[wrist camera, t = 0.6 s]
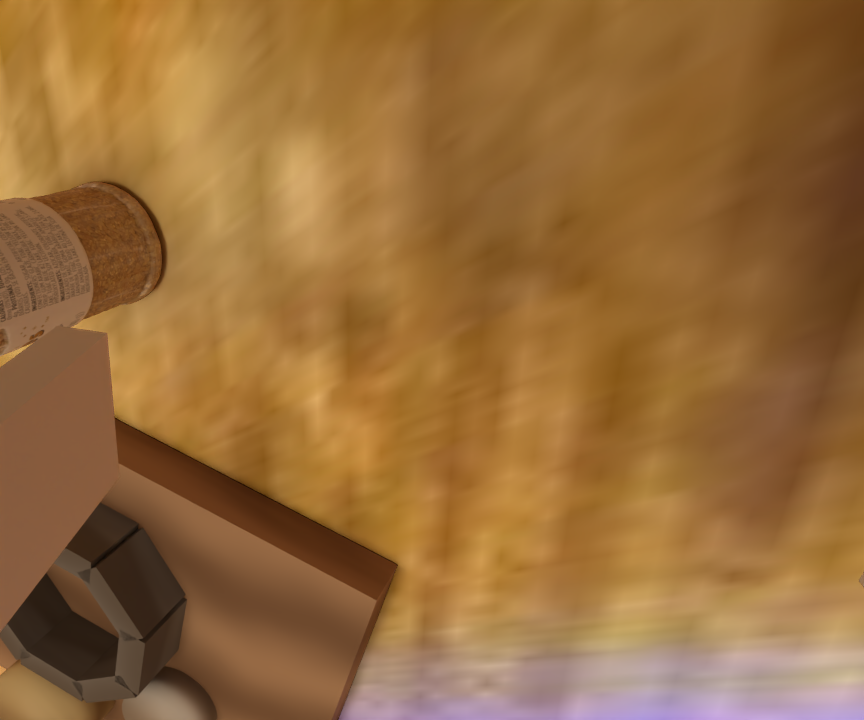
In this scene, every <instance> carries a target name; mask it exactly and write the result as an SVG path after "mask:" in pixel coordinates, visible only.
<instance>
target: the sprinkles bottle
mask: <svg viewBox="0 0 864 720" xmlns="http://www.w3.org/2000/svg"><path fill="white" fill-rule="evenodd" d="M161 267H162V255H161V244H160V241H159V238H158V236H157V233H156V232H155V229H154V226H153V224H152V222H151V220H150V218H149V216H148V214H147V213H146V211H145V210H144V209H143V207H142V206H141V205H140V204H139V202H138V201H137V200H136V199H135V198H133V197H132V196H131V195H129V194H128V193H127V192H125V191H123V190H121V189H119V188H117V187H116V186H114V185H111V184H107V183H103V182H90V183H86V184H82V185H80V186H77V187H75V188H72V189H71V190H67V191H62V192H58V193H53V194H50V195H45V196H40V197H33V198H29V199H28V198H12V199H6V200H1V201H0V356H2V355H4V354H7V353H9V352H12V351H14V350H16V349H19V348H21V347H24V346H26V345H29V344H31V343H34V342H36V341H37V340H39V339H40V338H41V337H43V336H44V335H45V334H47V333H48V332H50V331H51V330H52V329H54V328H55V327H56V326H62V327H69V328H70V327H72V326H74V325H76V324H77V323H79V322H80V321H81V320H83V319H86V318H89V317H91V316H93V315H96V314H99V313H101V312H103V311H107V310H109V309H111V308H113V307H116V306H119V305H124V304H131V303H134V302H137V301H139V300H141V299H142V298H144V297H145V296H147V295H148V294H149V293H150V292H151V291H152V290H153V289H154V287H155V285H156V283H157V281H158V279H159V276H160V273H161Z"/></svg>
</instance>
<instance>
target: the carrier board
mask: <svg viewBox="0 0 864 720" xmlns="http://www.w3.org/2000/svg"><path fill="white" fill-rule="evenodd" d="M115 430H116V442H117V453H118V465H119V476H120V477H119V478H118V480H117V481H116V482H115V484H114V485H113V486H112V487H111V489H110V490H109V491H108V493H107V494H106V495H105V497H104V498H103V499H102V501H101V502H100V503H99V504H98V506H97V507H96V508H95V510H94V511H93V512H92V514H91V515H90V516H89V517H88V519H87V520H86V521H85V523H84V524H83V525H82V527H81V528H80V529H79V530H78V532H77V533H76V534H75V536H74V537H73V538H72V540H71V541H70V542H69V543H68V545H67V546H66V547H65V549H64V550H63V551H62V553H61V554H60V555H59V556H58V558H57V559H56V560H55V562H54V563H53V564H52V566H51V567H50V568H49V570H48V571H47V572H46V573H45V575H44V576H43V577H42V579H41V580H40V581H39V583H38V584H37V585H36V586H35V588H34V589H33V590H32V592H31V593H30V594H29V596H28V597H27V598H26V599H25V601H24V602H23V603H22V605H21V606H20V607H19V609H18V610H17V611H16V612H15V614H14V615H13V616H12V618H11V619H10V620H9V622H8V623H7V624H6V626H5V627H4V628H3V629H2V631H1V632H0V666H2V667H4V668H5V669H7V670H6V671H5V672H4V673H2V674H1V675H0V720H338V719H339V716H340V714H341V711H342V708H343V706H344V703H345V701H346V698H347V695H348V693H349V690H350V688H351V685H352V682H353V680H354V677H355V675H356V672H357V669H358V667H359V664H360V662H361V659H362V656H363V654H364V651H365V649H366V646H367V643H368V641H369V638H370V636H371V633H372V630H373V628H374V625H375V623H376V620H377V617H378V615H379V612H380V610H381V607H382V604H383V602H384V599H385V597H386V594H387V591H388V589H389V586H390V584H391V581H392V578H393V576H394V573H395V571H396V568H397V566H398V565H396V564H394V563H392V562H391V561H389V560H387V559H385V558H383V557H381V556H379V555H377V554H375V553H373V552H371V551H369V550H367V549H365V548H364V547H362V546H360V545H358V544H356V543H354V542H352V541H350V540H348V539H346V538H344V537H342V536H340V535H338V534H337V533H335V532H333V531H331V530H329V529H327V528H325V527H323V526H321V525H319V524H317V523H315V522H313V521H311V520H310V519H308V518H306V517H304V516H302V515H300V514H298V513H296V512H294V511H292V510H290V509H288V508H286V507H284V506H283V505H281V504H279V503H277V502H275V501H273V500H271V499H269V498H267V497H265V496H263V495H261V494H259V493H257V492H256V491H254V490H252V489H250V488H248V487H246V486H244V485H242V484H240V483H238V482H236V481H234V480H232V479H230V478H229V477H227V476H225V475H223V474H221V473H219V472H217V471H215V470H213V469H211V468H209V467H207V466H205V465H203V464H202V463H200V462H198V461H196V460H194V459H192V458H190V457H188V456H186V455H184V454H182V453H180V452H178V451H176V450H175V449H173V448H171V447H169V446H167V445H165V444H163V443H161V442H159V441H157V440H155V439H153V438H151V437H149V436H148V435H146V434H144V433H142V432H140V431H138V430H136V429H134V428H132V427H130V426H128V425H126V424H124V423H122V422H121V421H119V420H117V419H115Z"/></svg>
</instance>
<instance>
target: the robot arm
mask: <svg viewBox="0 0 864 720" xmlns="http://www.w3.org/2000/svg"><path fill="white" fill-rule="evenodd" d="M119 477H120V476H119V465H118V453H117V442H116V430H115V418H114V407H113V395H112V383H111V372H110V360H109V349H108V337H107V333H103V332H96V331H90V330H83V329H76V328H69V327H62V326H56V327H55V328H54V329H52V330H51V331H50V332H48V333H47V334H45V335H44V336H43V337H41V338H40V339H39V340H37V341H36V342H34V343H33V344H32V345H30V346H29V347H28V348H26V349H25V350H24V351H22V352H21V353H19V354H18V355H17V356H15V357H14V358H13V359H11V360H10V361H8V362H7V363H6V364H4V365H3V366H2V367H0V632H1V631H2V629H3V628H4V627H5V626H6V624H7V623H8V622H9V620H10V619H11V618H12V616H13V615H14V614H15V612H16V611H17V610H18V609H19V607H20V606H21V605H22V603H23V602H24V601H25V599H26V598H27V597H28V596H29V594H30V593H31V592H32V590H33V589H34V588H35V586H36V585H37V584H38V583H39V581H40V580H41V579H42V577H43V576H44V575H45V573H46V572H47V571H48V570H49V568H50V567H51V566H52V564H53V563H54V562H55V560H56V559H57V558H58V556H59V555H60V554H61V553H62V551H63V550H64V549H65V547H66V546H67V545H68V543H69V542H70V541H71V540H72V538H73V537H74V536H75V534H76V533H77V532H78V530H79V529H80V528H81V527H82V525H83V524H84V523H85V521H86V520H87V519H88V517H89V516H90V515H91V514H92V512H93V511H94V510H95V508H96V507H97V506H98V504H99V503H100V502H101V501H102V499H103V498H104V497H105V495H106V494H107V493H108V491H109V490H110V489H111V487H112V486H113V485H114V484H115V482H116V481H117V480H118V478H119ZM859 582H860V583H861V584H862V586H863V587H864V572H863V574H862V576H861V578H860V579H859Z"/></svg>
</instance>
